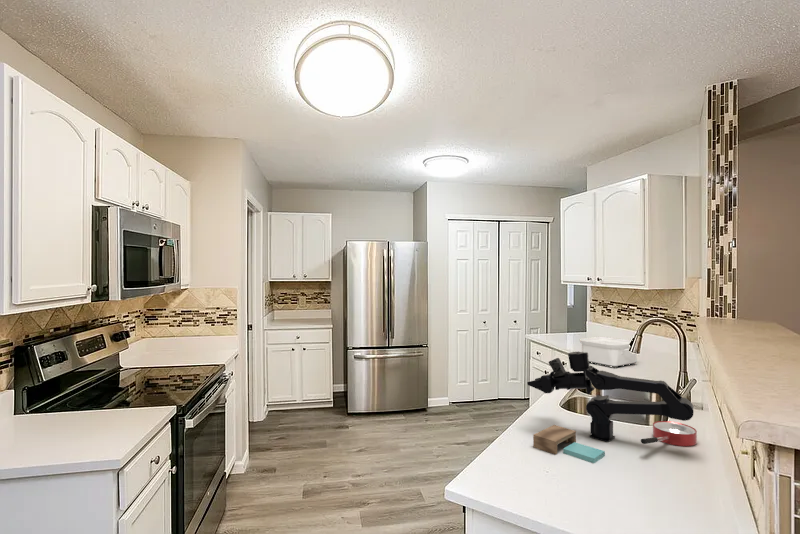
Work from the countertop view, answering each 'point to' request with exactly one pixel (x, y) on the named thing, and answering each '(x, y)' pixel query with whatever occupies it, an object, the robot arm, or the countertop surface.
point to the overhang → (553, 438)
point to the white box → (608, 351)
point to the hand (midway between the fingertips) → (531, 381)
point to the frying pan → (672, 434)
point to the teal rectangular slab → (584, 452)
